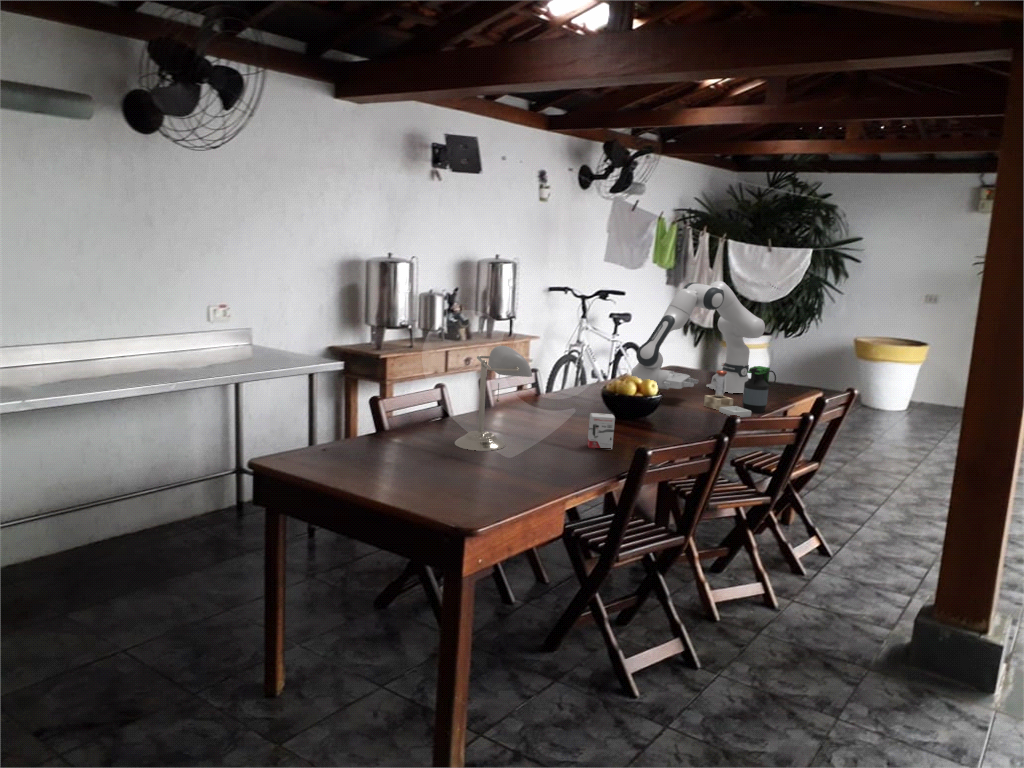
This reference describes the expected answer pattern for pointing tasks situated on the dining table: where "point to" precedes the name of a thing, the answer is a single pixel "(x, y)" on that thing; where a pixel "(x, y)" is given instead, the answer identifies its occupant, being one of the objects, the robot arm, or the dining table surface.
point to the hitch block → (717, 402)
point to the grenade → (757, 389)
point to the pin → (720, 383)
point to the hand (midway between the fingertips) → (695, 383)
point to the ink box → (601, 430)
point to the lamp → (505, 365)
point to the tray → (735, 411)
